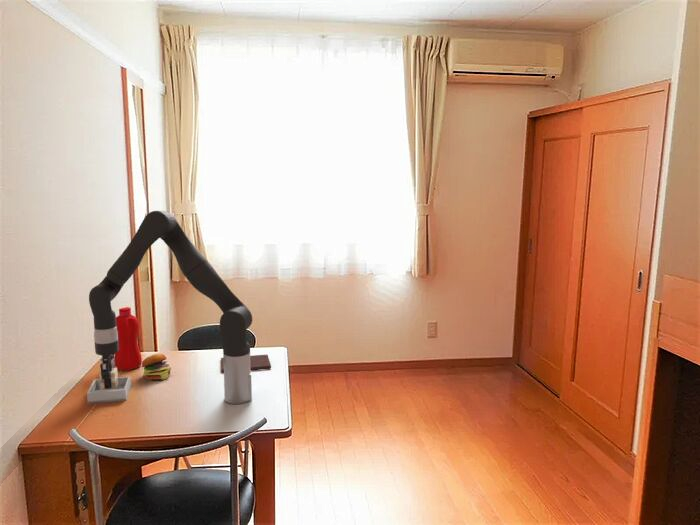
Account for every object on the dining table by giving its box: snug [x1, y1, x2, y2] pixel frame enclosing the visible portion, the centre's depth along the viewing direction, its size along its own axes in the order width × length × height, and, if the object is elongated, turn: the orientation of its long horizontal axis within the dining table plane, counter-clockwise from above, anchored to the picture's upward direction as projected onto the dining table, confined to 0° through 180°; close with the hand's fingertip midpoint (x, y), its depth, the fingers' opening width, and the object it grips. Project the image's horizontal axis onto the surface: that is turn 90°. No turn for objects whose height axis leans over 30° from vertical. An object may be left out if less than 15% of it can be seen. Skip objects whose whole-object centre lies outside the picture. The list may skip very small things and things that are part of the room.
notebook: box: [220, 354, 272, 374], centre depth 214 cm, size 15×20×2 cm
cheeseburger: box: [141, 353, 172, 380], centre depth 200 cm, size 10×11×10 cm
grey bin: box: [86, 376, 132, 405], centre depth 183 cm, size 12×12×4 cm
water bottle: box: [115, 306, 143, 371], centre depth 208 cm, size 9×11×25 cm
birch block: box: [98, 367, 119, 390], centre depth 182 cm, size 5×5×6 cm
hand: (109, 384), depth 183 cm, fingers closed on birch block, 5 cm apart
